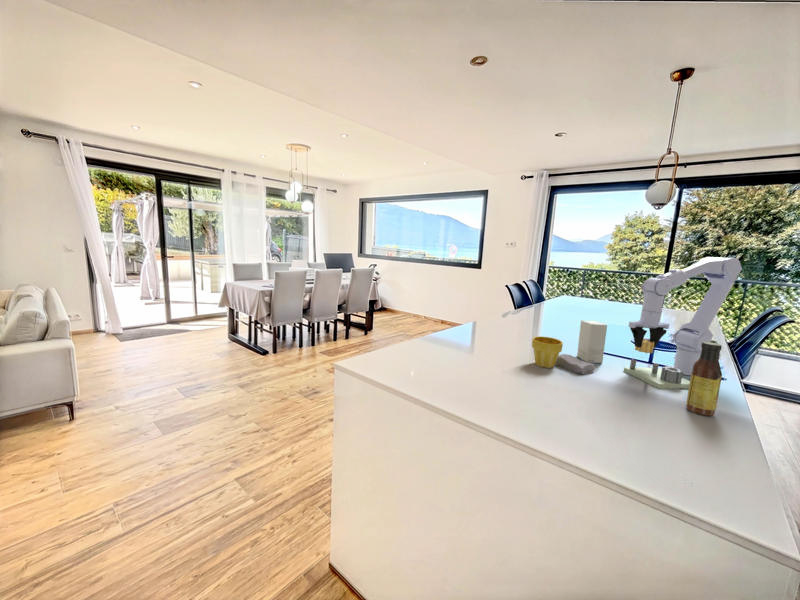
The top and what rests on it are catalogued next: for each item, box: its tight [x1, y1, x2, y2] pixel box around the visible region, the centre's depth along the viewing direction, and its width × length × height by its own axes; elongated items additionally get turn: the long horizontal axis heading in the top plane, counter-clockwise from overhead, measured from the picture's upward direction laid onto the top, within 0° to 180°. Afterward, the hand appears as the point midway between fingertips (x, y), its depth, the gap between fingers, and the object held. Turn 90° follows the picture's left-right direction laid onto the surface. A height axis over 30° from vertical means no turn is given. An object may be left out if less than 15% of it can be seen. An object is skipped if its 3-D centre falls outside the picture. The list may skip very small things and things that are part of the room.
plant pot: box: [531, 335, 564, 369], centre depth 126 cm, size 10×10×10 cm
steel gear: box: [660, 366, 684, 384], centre depth 113 cm, size 5×5×4 cm
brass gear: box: [634, 338, 655, 354], centre depth 125 cm, size 5×5×4 cm
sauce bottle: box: [685, 341, 723, 417], centre depth 94 cm, size 6×6×20 cm
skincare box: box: [576, 320, 608, 364], centre depth 135 cm, size 8×7×16 cm
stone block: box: [555, 353, 595, 375], centre depth 126 cm, size 12×5×10 cm
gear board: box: [623, 358, 690, 390], centre depth 118 cm, size 14×15×6 cm
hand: (645, 346), depth 125 cm, fingers closed on brass gear, 5 cm apart
